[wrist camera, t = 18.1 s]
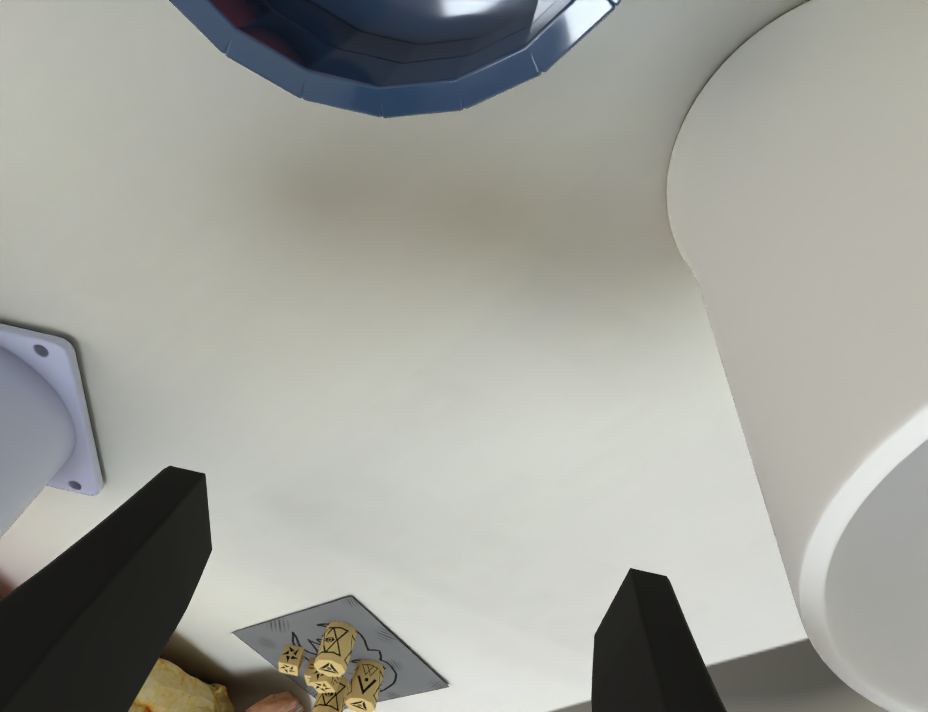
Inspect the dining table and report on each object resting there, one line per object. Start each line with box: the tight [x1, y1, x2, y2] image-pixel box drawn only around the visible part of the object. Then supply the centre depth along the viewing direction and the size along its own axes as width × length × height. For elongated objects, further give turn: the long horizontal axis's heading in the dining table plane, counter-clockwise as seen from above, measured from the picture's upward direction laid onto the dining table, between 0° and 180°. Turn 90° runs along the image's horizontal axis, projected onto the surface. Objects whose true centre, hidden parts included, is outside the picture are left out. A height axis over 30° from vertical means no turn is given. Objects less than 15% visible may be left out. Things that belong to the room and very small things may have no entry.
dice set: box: [277, 621, 385, 712], centre depth 33 cm, size 5×5×2 cm
